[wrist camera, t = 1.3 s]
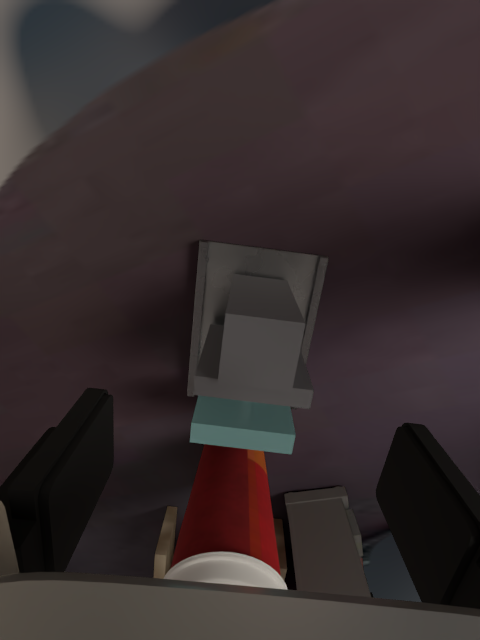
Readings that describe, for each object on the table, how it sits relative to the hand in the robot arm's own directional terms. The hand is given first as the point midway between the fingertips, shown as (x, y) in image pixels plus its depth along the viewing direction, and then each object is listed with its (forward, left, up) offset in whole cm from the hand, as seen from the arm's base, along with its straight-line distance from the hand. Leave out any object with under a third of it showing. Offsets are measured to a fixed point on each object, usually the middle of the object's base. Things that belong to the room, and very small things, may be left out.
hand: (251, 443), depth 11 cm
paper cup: (0, +15, -17) cm, 23 cm away
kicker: (0, +3, -16) cm, 16 cm away
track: (0, +3, -17) cm, 17 cm away
